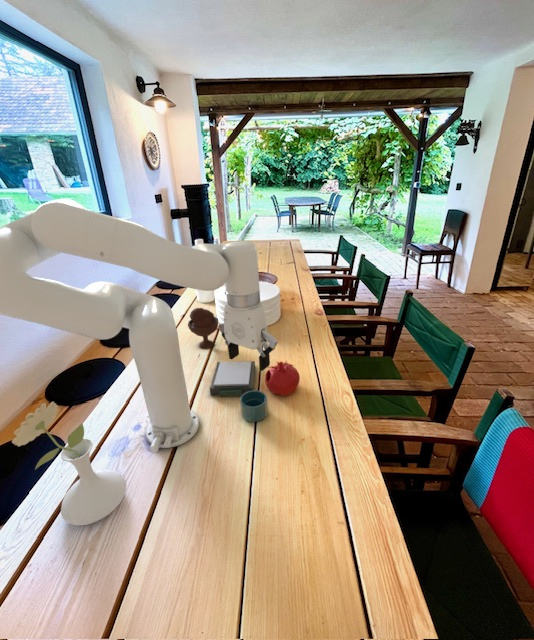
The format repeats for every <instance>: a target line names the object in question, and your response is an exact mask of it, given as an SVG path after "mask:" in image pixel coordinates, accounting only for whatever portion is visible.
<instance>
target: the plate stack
mask: <svg viewBox="0 0 534 640" xmlns="http://www.w3.org/2000/svg"><path fill="white" fill-rule="evenodd" d="M259 288H260V303H261V304H262V305H263V309H264V313H265V318H266V324H267V327H268V326H271V325H273V324H275V323H276V322H277V321H279V320H280V318H281V313H282V312H281V289H280V287H279V286H277V285H276V284H274V283H272V282H267V281H261V280H259ZM225 290H226V287H225V285H223V286H222V287H220V288H218V289H216V290H214V295H215V299H214V304H215V312H216V318H218V324H219V325H221V324H223V323H224V307H225V303H226V302H227V296H226V295H225Z"/></svg>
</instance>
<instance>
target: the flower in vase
mask: <svg viewBox="0 0 534 640" xmlns="http://www.w3.org/2000/svg"><path fill="white" fill-rule="evenodd" d="M59 411H60V408H59V405H58V404H57V403H55V400H54V401H51V402H50V403H49V404H48V405H47V404H46V402H44V403H42V404H41V405H40V407H37V408H36V409H35V410H34V413H33V412H29V413H28V414H27V415H26V416H25V420H24V421H22V422H21V423H20V426H19V428H17V429H16V430H14V431H13V435H15V438H12V441H11V443H12V444H13V445H14V446H17V447H21V446H25V445H27V444H28V443H30V442H32V441H34V440H35V439H36V438H37V437H39V436H40V435H41V434H42V433H43V432H45V433H46V435H47V436H48V437H49V438H50V439H51V441H52V442H53V444H54V445H56V446H57V447H56V448H54V449H52V450H50V451H49V452H47V453H46V454H44V455H43V456H42V457H41V458H40V459H39V461H38V462H37V464H36V466H35V469H34V470H35V471H36V470H37V469H38V468H40V467H41V466H42V465H44V464H46V463H48V462H49V461H51V460H53V459H54V458H55V456H56V455H57V454H58V452H59V451H60V449H62V451H61V453H60V458H61V460H63V461H64V462H68V463H70V464H72V465H73V467H74V468H75V470H76V471H77V474H78V477H79V479H77V480H76V481H75V482H74V483H73V484H72V485H71V486H70V488H69V489H68V491H66V493H65V494H64V496H63V499H62V501H61V507H60V514H61V518H62V519H63V520H64V522H66V523H67V524H69V525H73V526H87V525H92V524H94V523H97V522H99V521H101V520H103V519H105V518H106V517H107V516H109V515H111V513H112V512H114V511H115V509H116V508H117V507H118V506H119V505H120V503H121V502H122V500H123V499H124V496H125V494H126V491H127V480H126V478H125V477H124V476H123V475H122V473H120V472H119V471H117V470H114V469H98V470H93V468H92V464H91V460H90V453H91V451H92V448H93V446H94V443H93V441H92V440H91V439H88V438H85V428H84V424H83V423H81V424H79V425H78V426H77V427H76V428H75V429H74V430H73V431H72V432H70V434H68V436H67V445H66V446H62V445H60V444H59V443H58V442H57V440H56V439H55V438H54V437H53V435H52V434H51V432H49V431H48V429H47V428H48V427H49V425H51V424H52V423H53V422H54V421H55V418H56V417H57V415H58V413H59Z"/></svg>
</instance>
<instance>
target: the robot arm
mask: <svg viewBox="0 0 534 640" xmlns="http://www.w3.org/2000/svg"><path fill="white" fill-rule="evenodd" d="M61 253H62V254H65V255H66V254H67V255H70V256H74V257H80V258H83V259H88V260H93V261H98V262H102V263H106V264H111V265H115V266H118V267H123V268H127V269H130V270H132V271H135V272H137V273H140V274H141V275H144V276H148V277H150V278H153V279H156V280H158V281H161V282H164V283H168V284H171V285H175V286H179V287H183V288H188V289H193V290H196V289H197V290H203V291H212V290H214V291H216V290H217V289H218V288H220V287H222V286H225V287H226V290H225V295H226V296H227V302H226V303H225V307H224V323H223V324H218V329H219V332H220V333H221V336H222V338H223V339H224V343H225V345H227V352H228V359H229V360H231V361H232V360H233V359H235V358H237V357H238V356H239V355H240V349H239V346H240V347H243V348H246V349H249V350H256V351H257V352H258V353H259V355H258V366H259V371H261V372H264V370H266V369H268V367H270V365H271V361H270V360H271V359H270V353H272V352H274V350H275V349H276V347H277V346H278V343H279V339H277V338H276V337H274V336H273V335H272V334H271V333H270V332H268V326H267V324H266V318H265V313H264V309H263V305H262V304H261V303H260V288H259V281H260V275H259V272H260V271H259V257H258V248H257V246H256V245H255V243H253V242H251V241H247V240H246V241H245V240H242V241H241V240H240V241H232V242H231V241H230V242H228V243H203V244H198V245H196V244H194V245H193V246H187V245H183V244H180V243H178V242H175V241H173V240H169V239H167V238H165V237H162V236H160V235H159V234H156V233H155V232H153V231H152V230H151V229H148V227H145V226H143V225H141V224H138V223H137V222H134V221H130V220H126V219H123V218H118V217H115V216H111V215H108V214H105V213H101V212H98V211H94V210H92V209H87V208H86V207H85V206H84V205H82V204H81V203H79V202H77V201H75V200H71V199H67V198H66V199H65V198H61V199H55V200H51V201H48V202H45V203H43V204H41V205H39V206H38V207H37V208H36V209H35V211H33V212H31V213H29V214H27V215H24V216H23V217H20V218H18V219H16V220H13V221H12V222H9V223H7V224H5V225H2V226H0V315H1V316H6V317H9V318H12V319H17V320H21V321H26V322H30V323H33V324H34V323H35V324H38V325H43V326H45V327H48V328H52V329H55V330H60V331H64V332H68V333H71V334H76V335H78V336H79V335H80V336H83V337H87V338H90V339H95V340H100V341H101V340H110V339H112V338H115V337H116V336H117V335H118V334H120V332H121V331H122V329H123V328H124V329H128V341H129V347H130V351H131V354H132V357H133V361H134V363H135V366H136V370H137V373H138V378H139V382H140V386H141V389H142V393H143V397H144V402H145V407H146V410H147V414H148V419H149V423H148V425H147V426H146V430H145V435H146V440H147V441H148V442H149V443H150V446H149V452H151V453H153V454H155V453H158V452H159V449H160V448H161V449H169V448H175V447H178V446H181V445H183V444H185V443H187V442H188V441H190V440H191V439H192V438H193V437H194V436H195V435H196V433H197V432H198V430H199V427H200V422H199V418H198V415H197V414H196V413H195V412H194V411H193V410H191V407H190V401H189V395H188V389H187V383H186V377H185V373H184V368H183V361H182V355H181V348H180V341H179V334H178V329H177V324H176V321H175V317H174V313H173V310H172V308H171V307H170V305H169V304H168V303H167V302H166V301H165V300H163V299H162V298H161V299H160V298H158V297H156V296H154V295H150V294H147V293H144V292H142V291H139V290H136V289H133V288H130V287H127V286H124V285H121V284H117V283H115V282H108V281H98V282H94V283H91V284H88V285H87V286H86V287H84V288H79V287H76V286H72V285H69V284H66V283H63V282H61V281H57V280H53V279H48V278H43V277H36V276H33V275H31V274H29V273H27V272H29V270H30V269H32V268H34V267H35V266H37V265H39V264H41V263H43V262H45V261H47V260H48V259H51V258H53V257H56V256H57V255H60V254H61Z"/></svg>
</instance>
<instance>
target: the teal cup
mask: <svg viewBox="0 0 534 640" xmlns="http://www.w3.org/2000/svg"><path fill="white" fill-rule="evenodd" d="M239 403H240V415H241V417H242V419H244V421H247V422H251V423H252V422H253V423H254V422H260V421H262V420H264V419H265V418H266V417H267V416H268V413H269V412H268V409H269V408H268V396H267V394H266V393H265V392H263V391H261V390H254V389H253V391H248V392H246V393H244V394H243V395H240V398H239Z"/></svg>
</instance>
